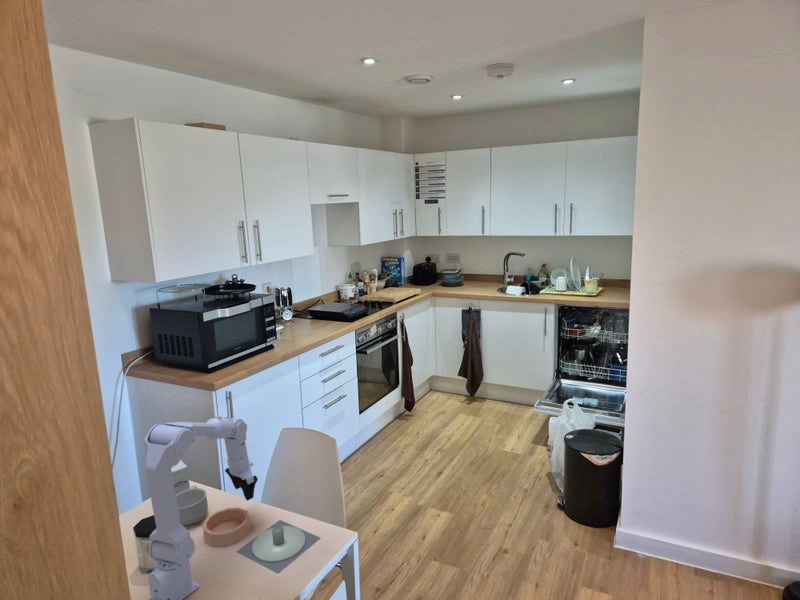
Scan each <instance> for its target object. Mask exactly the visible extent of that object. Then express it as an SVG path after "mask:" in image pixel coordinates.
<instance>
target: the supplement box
mask: <svg viewBox="0 0 800 600" xmlns="http://www.w3.org/2000/svg"><path fill="white" fill-rule="evenodd" d="M171 471H172V477H173V483H174V488H175V494H176V495H177V494H178V493H180V492H182V491H185V490H188V489H191V486H190V478H189V470H188V466H187V464H186V463H185V462H184V461H183V460H182V459H181V460H180V461H179V463H178V464H177V465H175V466H173V467H172V468H171Z"/></svg>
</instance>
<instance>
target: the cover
mask: <svg viewBox="0 0 800 600" xmlns="http://www.w3.org/2000/svg"><path fill="white" fill-rule="evenodd" d="M296 527H297V526H295V527H292V526H278V527H275V528H271V529H269V530H267V529H265V530H266V531H265V530H264V531H265V532H264V531H262V532H263V533H262V532H261V533H259V534H258V535H259V536H258V535H257V536H258V537H257V536H256V537H257V538H256V537H255V538H256V539H255V540H254V542H253V545H252V552H253V555H254V556H255V557H256V558H257V559H258V560H260V561H263V562H269V563H274V562H281V561H285V560H287V559H290V558H292V557H294V556H295V555H297V554H298V553H299V552H300V551H301V550H302V549H303V547H304V545H305V535H304V533H303V532H302V531H301V530H300V529H301V528H300V529H298V528H299V527H297V528H296Z"/></svg>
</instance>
